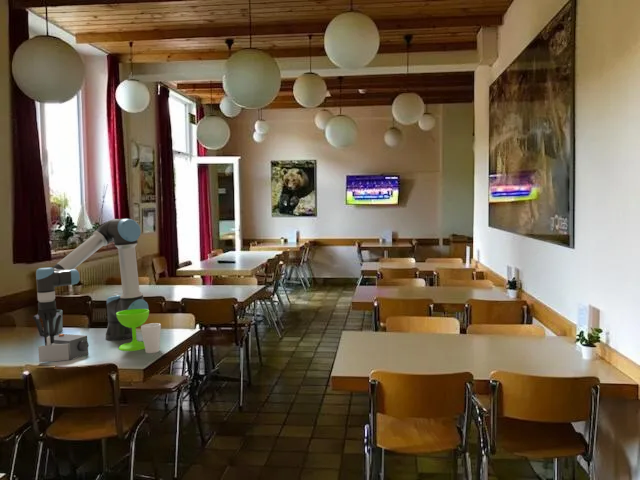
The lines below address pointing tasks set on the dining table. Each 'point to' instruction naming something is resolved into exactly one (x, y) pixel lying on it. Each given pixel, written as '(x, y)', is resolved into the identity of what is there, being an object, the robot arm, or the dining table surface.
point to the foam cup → (151, 337)
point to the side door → (54, 352)
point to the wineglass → (132, 326)
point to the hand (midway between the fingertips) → (50, 350)
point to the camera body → (73, 344)
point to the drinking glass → (55, 322)
